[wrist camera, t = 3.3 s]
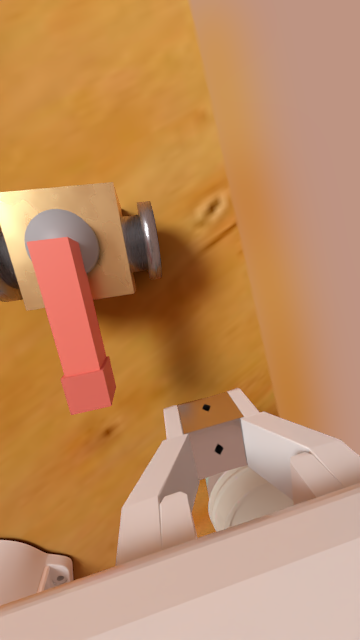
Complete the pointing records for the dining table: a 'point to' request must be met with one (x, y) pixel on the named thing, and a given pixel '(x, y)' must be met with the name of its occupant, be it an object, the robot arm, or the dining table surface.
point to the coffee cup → (242, 497)
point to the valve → (105, 220)
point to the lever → (71, 305)
